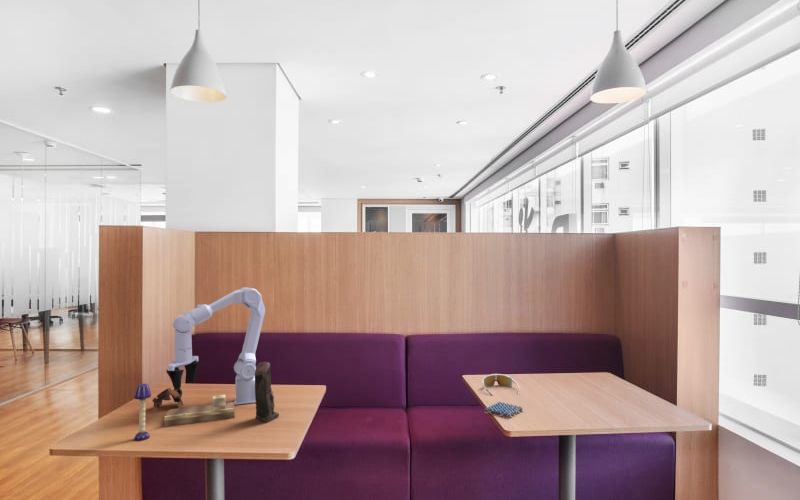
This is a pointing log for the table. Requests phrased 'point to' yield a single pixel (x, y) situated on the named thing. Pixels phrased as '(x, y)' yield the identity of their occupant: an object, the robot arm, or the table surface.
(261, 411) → the statue
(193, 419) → the walnut board
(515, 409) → the woven mat
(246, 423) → the table surface
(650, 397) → the table surface
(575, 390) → the table surface
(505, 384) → the sunglasses
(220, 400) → the wooden mallet
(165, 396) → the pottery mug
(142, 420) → the toy lamp
